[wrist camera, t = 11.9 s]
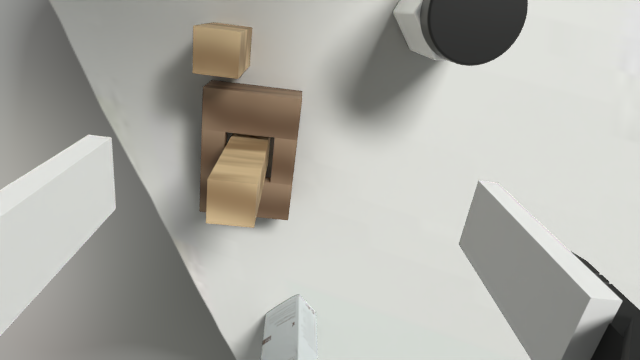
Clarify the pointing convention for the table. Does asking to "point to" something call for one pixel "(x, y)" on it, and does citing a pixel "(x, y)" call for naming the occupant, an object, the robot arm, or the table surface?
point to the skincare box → (290, 332)
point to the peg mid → (221, 49)
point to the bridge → (252, 119)
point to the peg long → (238, 181)
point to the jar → (461, 28)
